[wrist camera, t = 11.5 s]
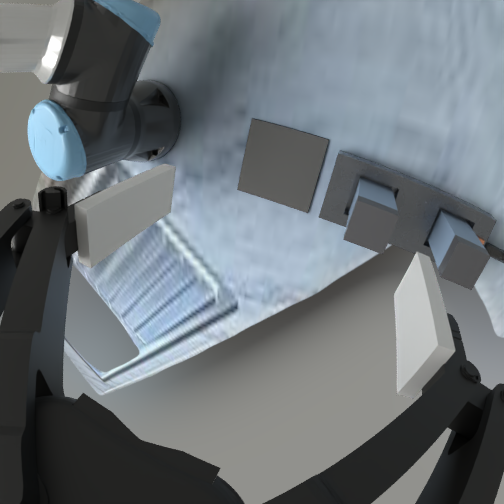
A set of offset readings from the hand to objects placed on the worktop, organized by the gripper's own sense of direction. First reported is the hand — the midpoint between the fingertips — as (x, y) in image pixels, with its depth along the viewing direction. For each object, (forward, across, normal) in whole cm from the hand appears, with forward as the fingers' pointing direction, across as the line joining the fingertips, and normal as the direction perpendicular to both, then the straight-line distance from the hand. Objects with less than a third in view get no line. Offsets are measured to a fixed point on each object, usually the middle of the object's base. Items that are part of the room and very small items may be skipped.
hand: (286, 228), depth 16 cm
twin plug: (+31, +20, -6) cm, 38 cm away
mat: (+33, -7, -6) cm, 34 cm away
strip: (+32, +17, -6) cm, 37 cm away
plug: (+31, +7, -6) cm, 33 cm away
